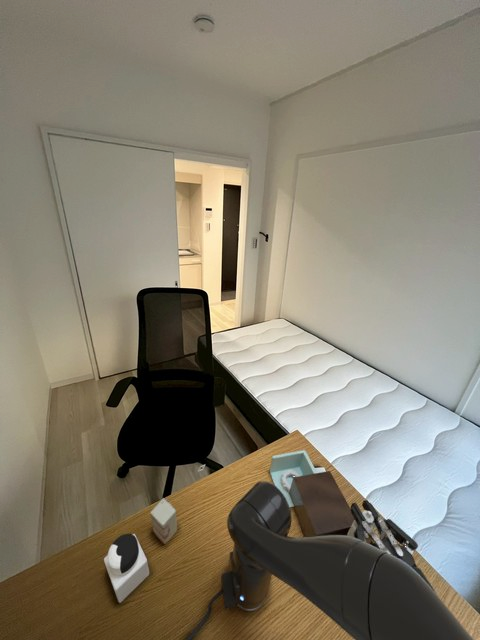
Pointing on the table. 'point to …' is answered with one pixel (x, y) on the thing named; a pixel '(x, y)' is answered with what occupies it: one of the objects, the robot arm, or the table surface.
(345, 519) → the cabinet
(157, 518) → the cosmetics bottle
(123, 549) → the white block with dome
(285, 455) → the teal open bin
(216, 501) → the table surface
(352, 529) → the eye dropper bottle
